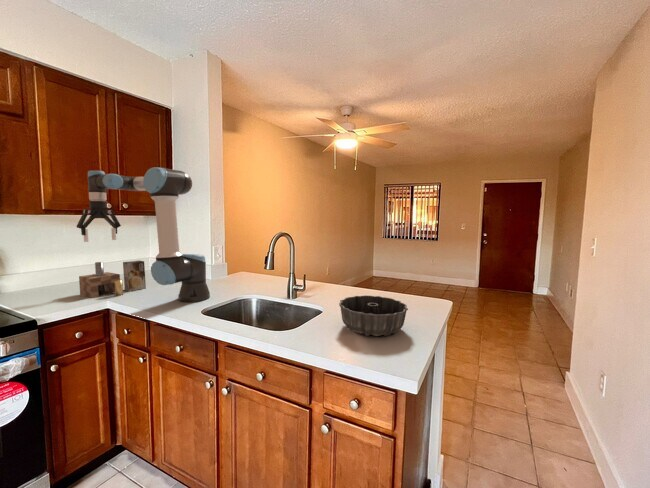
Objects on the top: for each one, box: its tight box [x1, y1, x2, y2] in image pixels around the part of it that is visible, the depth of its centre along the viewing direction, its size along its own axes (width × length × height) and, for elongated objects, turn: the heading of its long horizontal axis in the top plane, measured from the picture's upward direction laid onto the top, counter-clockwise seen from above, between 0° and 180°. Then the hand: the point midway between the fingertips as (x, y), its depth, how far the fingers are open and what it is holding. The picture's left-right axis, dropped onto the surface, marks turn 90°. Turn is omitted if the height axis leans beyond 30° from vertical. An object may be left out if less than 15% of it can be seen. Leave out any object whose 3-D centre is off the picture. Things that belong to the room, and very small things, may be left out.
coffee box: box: [122, 260, 147, 292], centre depth 178 cm, size 9×6×16 cm
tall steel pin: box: [94, 261, 106, 295], centre depth 168 cm, size 4×4×17 cm
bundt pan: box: [338, 295, 409, 337], centre depth 122 cm, size 26×26×10 cm
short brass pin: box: [114, 279, 124, 297], centre depth 165 cm, size 4×4×8 cm
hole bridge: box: [78, 271, 121, 299], centre depth 168 cm, size 12×14×10 cm
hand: (100, 240), depth 166 cm, fingers open, 13 cm apart
